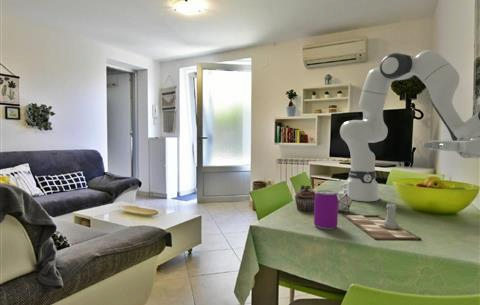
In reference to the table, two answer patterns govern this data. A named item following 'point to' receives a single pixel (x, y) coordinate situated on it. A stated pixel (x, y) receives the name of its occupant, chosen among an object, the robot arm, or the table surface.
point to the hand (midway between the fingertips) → (432, 145)
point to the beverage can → (326, 209)
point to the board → (380, 228)
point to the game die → (344, 202)
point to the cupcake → (305, 199)
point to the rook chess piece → (390, 217)
